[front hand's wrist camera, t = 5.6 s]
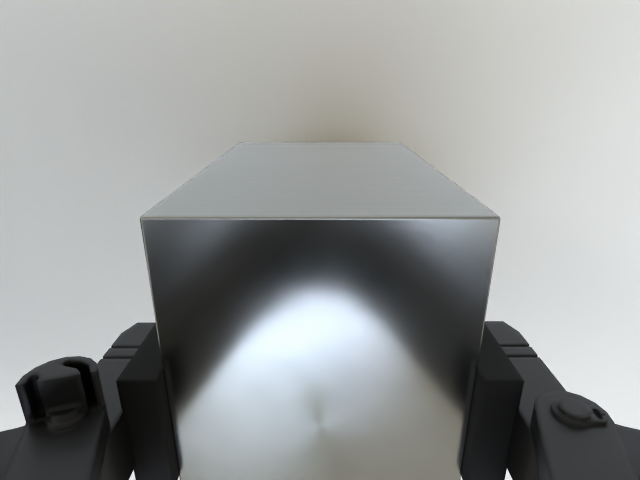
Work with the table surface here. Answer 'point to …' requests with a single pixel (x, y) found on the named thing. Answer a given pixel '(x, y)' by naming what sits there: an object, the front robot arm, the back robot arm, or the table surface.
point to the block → (320, 313)
